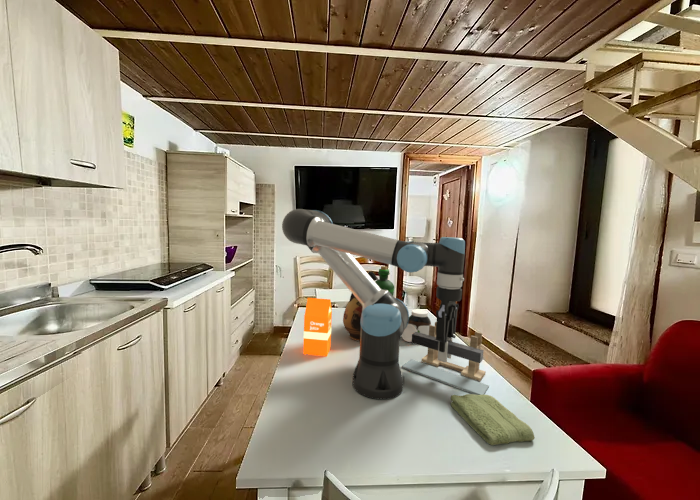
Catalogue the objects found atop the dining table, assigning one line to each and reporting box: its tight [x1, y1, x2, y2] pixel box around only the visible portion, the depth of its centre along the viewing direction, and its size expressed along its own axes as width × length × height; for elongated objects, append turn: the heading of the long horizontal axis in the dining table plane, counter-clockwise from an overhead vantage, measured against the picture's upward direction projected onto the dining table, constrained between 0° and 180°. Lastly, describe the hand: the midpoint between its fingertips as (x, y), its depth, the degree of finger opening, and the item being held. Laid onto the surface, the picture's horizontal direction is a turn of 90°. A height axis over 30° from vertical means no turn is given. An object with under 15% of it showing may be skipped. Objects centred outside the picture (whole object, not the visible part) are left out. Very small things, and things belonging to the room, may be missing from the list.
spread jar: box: [401, 308, 432, 343], centre depth 128 cm, size 12×11×12 cm
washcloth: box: [450, 393, 535, 446], centre depth 76 cm, size 13×18×3 cm
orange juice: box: [302, 297, 333, 357], centre depth 112 cm, size 8×9×20 cm
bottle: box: [375, 265, 395, 296], centre depth 145 cm, size 11×11×28 cm
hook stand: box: [420, 321, 487, 382], centre depth 103 cm, size 6×20×14 cm, turn 52°
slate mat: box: [401, 358, 490, 395], centre depth 97 cm, size 7×26×1 cm, turn 52°
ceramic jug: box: [342, 271, 379, 342], centre depth 127 cm, size 17×15×30 cm
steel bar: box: [411, 332, 484, 364], centre depth 96 cm, size 3×22×3 cm, turn 52°
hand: (444, 358), depth 97 cm, fingers closed on steel bar, 3 cm apart
